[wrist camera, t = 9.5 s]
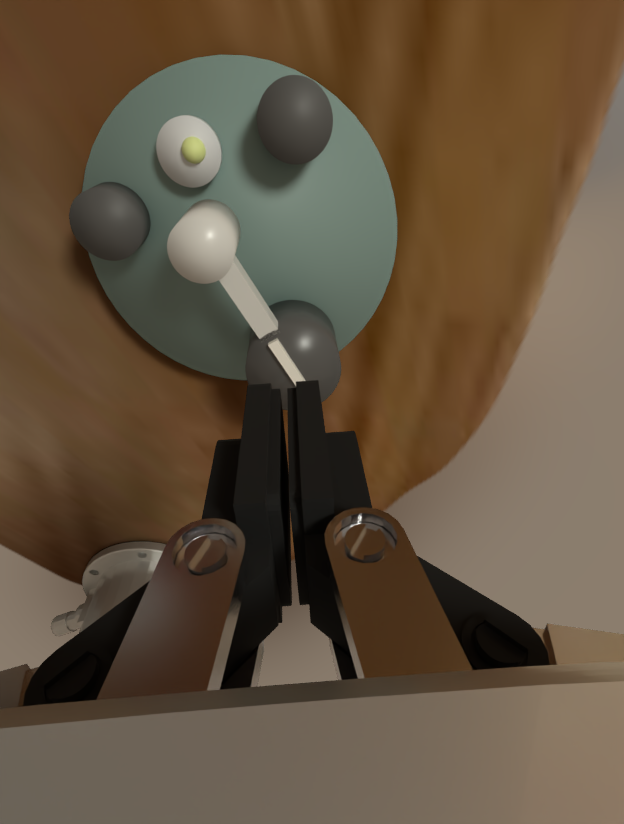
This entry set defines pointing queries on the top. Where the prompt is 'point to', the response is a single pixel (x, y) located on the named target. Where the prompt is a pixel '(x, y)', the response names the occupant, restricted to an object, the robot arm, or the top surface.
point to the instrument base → (236, 204)
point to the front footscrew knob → (256, 305)
